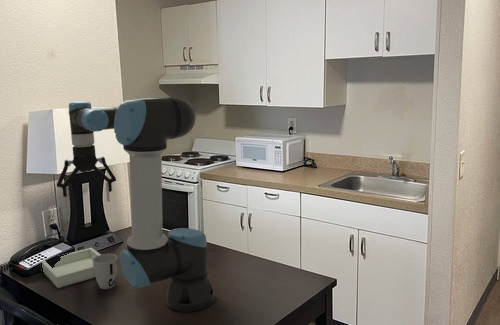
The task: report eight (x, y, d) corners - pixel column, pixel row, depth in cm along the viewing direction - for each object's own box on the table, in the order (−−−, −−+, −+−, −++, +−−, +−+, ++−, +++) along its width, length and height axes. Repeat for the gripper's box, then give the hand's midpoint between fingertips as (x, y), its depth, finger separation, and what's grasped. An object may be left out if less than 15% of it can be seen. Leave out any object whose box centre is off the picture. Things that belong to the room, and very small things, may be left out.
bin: (111, 272, 168) (111, 262, 167) (57, 288, 156) (56, 277, 155) (92, 257, 183) (91, 247, 182) (41, 270, 171) (40, 260, 170)
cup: (112, 292, 153) (110, 263, 151) (90, 290, 154) (87, 262, 152) (123, 281, 160) (121, 254, 158) (102, 279, 162) (100, 253, 160)
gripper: (118, 141, 171) (122, 196, 175) (45, 146, 162) (52, 204, 166) (120, 143, 164) (125, 201, 168) (45, 149, 155) (51, 209, 159)
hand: (88, 202), depth 167 cm, fingers open, 13 cm apart
